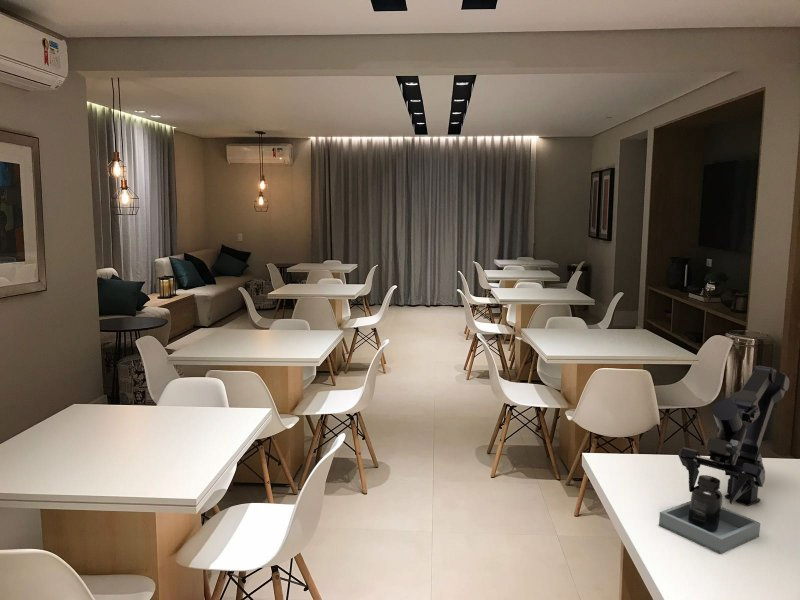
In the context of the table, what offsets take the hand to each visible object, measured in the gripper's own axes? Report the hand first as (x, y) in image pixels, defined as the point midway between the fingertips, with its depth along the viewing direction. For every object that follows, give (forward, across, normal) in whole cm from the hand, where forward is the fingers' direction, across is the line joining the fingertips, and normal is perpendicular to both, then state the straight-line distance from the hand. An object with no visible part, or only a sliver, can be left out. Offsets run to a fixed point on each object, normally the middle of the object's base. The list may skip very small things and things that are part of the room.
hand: (709, 497), depth 161 cm
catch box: (+6, 0, +7) cm, 9 cm away
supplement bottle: (+5, -1, +7) cm, 8 cm away
